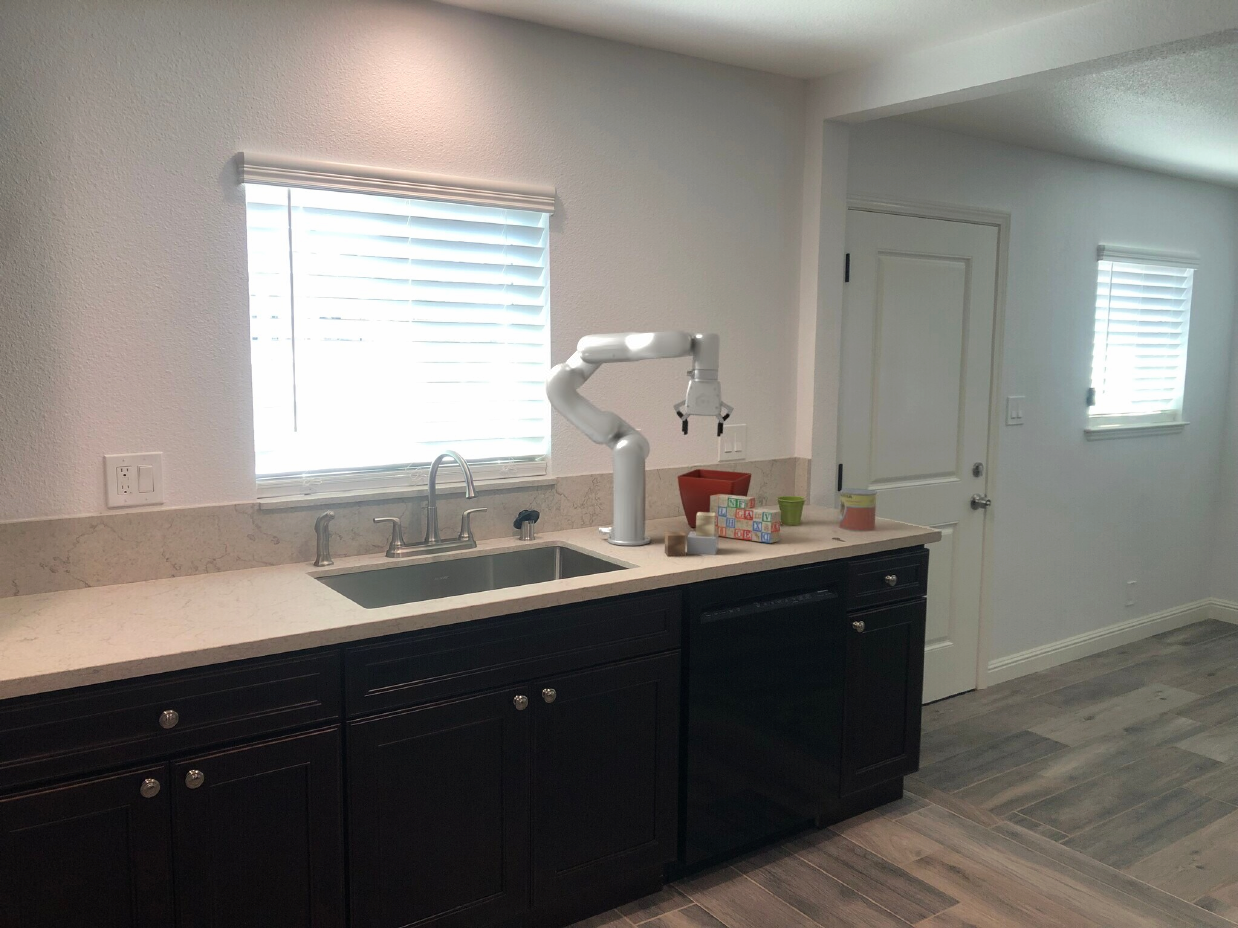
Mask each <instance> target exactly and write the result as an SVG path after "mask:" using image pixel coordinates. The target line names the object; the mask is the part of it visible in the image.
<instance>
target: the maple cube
mask: <svg viewBox="0 0 1238 928" xmlns="http://www.w3.org/2000/svg"><path fill="white" fill-rule="evenodd" d="M695 532H696V536H703V537H714V535H715V513H709V512H698V513H697V515H696V527H695Z"/></svg>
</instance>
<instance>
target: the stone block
mask: <svg viewBox="0 0 1238 928" xmlns="http://www.w3.org/2000/svg"><path fill="white" fill-rule="evenodd" d="M718 550H719V536H718V533H715V535H714V537H703V536H696V531H689V533H688V534H687V535H686V555H687V554H688V555H689V554H690V555H706V556H716V555H717V552H718Z"/></svg>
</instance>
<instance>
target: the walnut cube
mask: <svg viewBox="0 0 1238 928" xmlns="http://www.w3.org/2000/svg"><path fill="white" fill-rule="evenodd" d="M686 550H687V535H686V534H685V533H684V532H683V531H665V532H664V554H665V555H666V557H669V558H670V557H675V558H676V557H686Z"/></svg>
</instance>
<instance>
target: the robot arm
mask: <svg viewBox="0 0 1238 928" xmlns="http://www.w3.org/2000/svg"><path fill="white" fill-rule="evenodd" d="M720 344H721V337H720V335H719V334H718V333H717V332H709V331H707V332H706V331H705V332H703V331H702V332H701V331H700V332H689V331H685V330H667V331H650V332H638V331H627V332H612V333H596V334H587V335H584V336H582V337H581V338H580V339H579V341H578V343H577V346H576V351H575V352H574V353H573V354H572V355H571V356H570V358H568V359H567V361H566V362H563V363H557V365H554V366H553V367H552V368H551V369H550V370H549V372H548V374H547V376H546V380H545V392H546V396H547V399H548V402H549V403H550V404H551V406H552V407H553V408H554V410H555V411H556V412H557V413H558V414H559V415H560V416H561V417H563V418H564V419H565V420H566V421H568V422H569V423H570V424H571V425H573V427H574V428H576V429H577V430H578V431H579V432H581V433H582V434H583V435H585V436H586V437H587V438H588V439H589V440H591V442H593V443H595V444H597V445H601V446H602V445H605V447H606V446H607V447H608V448H609V449H610V450H612V454H611V455H612V457H611V458H612V473H613V474H612V478H613V487H612V488H613V489H612V490H613V492H612V493H613V497H612V498H613V504H612V505H613V513H612V515H613V516H612V517H613V518H612V519H613V520H612V523H613V524H612V526H609V527H606V526H599V527H598V534H601V535H608V537H607V542H608V543H609V544H612V545H617V546H628V547H630V546H631V547H634V546H636V547H637V546H643V545H647V544H649V543H650V542H651V537H650V536H648V535H646V497H647V495H646V494H647V493H646V491H647V490H646V488H647V485H646V484H647V481H646V480H647V478H646V476H647V475H646V474H647V473H646V460H647V458H648V457H649V454H650V450H651V447H650V446H651V445H650V442H649V440H648V439H647V438H646V437H645V436H644V434H642V433H641V432H639V431H638V430H637V429H636V428H635V427H633V426H632V425H631V424H630V423H628V422H627V421H626V420H625V419H623V418H622V417H621V416H619V415H618V414H617V413H615V412H613V411H609V410H601V409H600V408H598V407H597V406H596V405H595V404H594V403H592V402H591V401H590V400H589V399H587V398H586V397H585V396H583V395H581V394H580V392H578V389H579V388H581V387H582V386H583V385H584V384H585V383H586V382H587V381H588V380H589V378H590V377H592V375H594V373H596V372H597V370H598V369H600V367H601V366H602V365H603V364H612V363H613V364H614V363H629V362H630V363H633V362H639V361H644V360H655V359H656V360H657V359H659V360H660V359H674V358H675V359H676V358H684V357H685V358H686V357H692V361H691V363H692V367H691V370H688V371H686V376H687V377H690V378H691V379H689V380H688V382H687V386H686V394H685V399H684V400H682V401H680V402H678V403H676V404H674V405H673V410H674V411H675V413H676V415H677V416H678V418H679V419H680V420H681V421H682V423H681V424H682V426H681V432H683V435H684V436H686V435H688V434H689V420H688V418H689V417H690V416H699V417H701V416H702V417H705V416H706V417H716V419H717V420H718V423H717V428H716V429H717V432H716V433H717V434H716V437H717V438H720V437H721V436H722V435H723V433H724V422H726V421H727V420H728V419H729V418H730V416H731V415H732V414H733V411H734V410H735V409H734V407H733V406H732V405H730V404H728V403H726V402H724V401H723V399H722V398H723V397H722V385H721V381H720V380H719V364H720V346H721V345H720ZM683 406H684V411H685V413H683V411H681V409H680V408H681V407H683ZM722 408H724V409H725V410H727V411H726V413H725V415H722V414H721V413H722Z"/></svg>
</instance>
